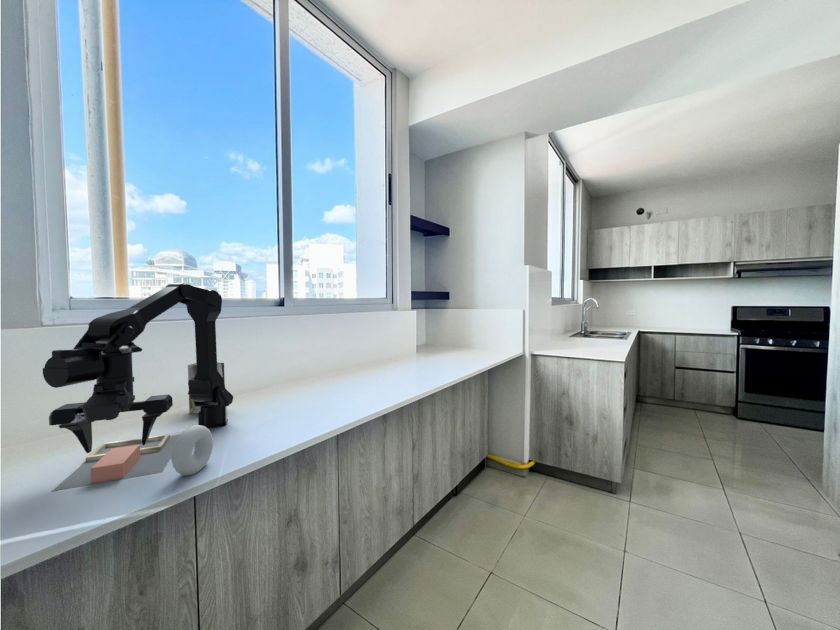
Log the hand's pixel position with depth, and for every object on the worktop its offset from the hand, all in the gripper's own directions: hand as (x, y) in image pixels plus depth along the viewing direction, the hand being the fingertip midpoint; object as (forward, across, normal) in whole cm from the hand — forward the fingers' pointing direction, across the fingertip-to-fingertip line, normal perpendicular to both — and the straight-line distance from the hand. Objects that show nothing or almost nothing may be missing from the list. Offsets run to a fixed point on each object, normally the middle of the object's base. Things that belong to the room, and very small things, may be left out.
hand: (117, 448), depth 71 cm
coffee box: (+5, +11, +39) cm, 41 cm away
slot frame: (+5, -1, +11) cm, 12 cm away
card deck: (+4, 0, 0) cm, 5 cm away
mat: (+5, 0, +6) cm, 8 cm away
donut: (+5, +15, -8) cm, 18 cm away
